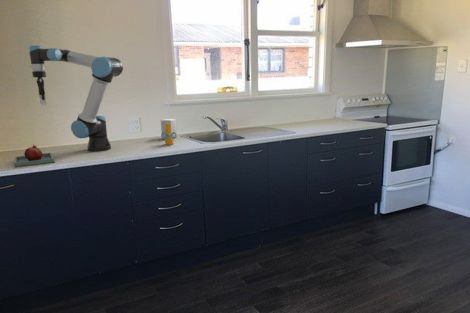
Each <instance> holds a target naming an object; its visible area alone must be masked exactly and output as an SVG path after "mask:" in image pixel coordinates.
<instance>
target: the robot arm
mask: <svg viewBox="0 0 470 313" xmlns="http://www.w3.org/2000/svg"><path fill="white" fill-rule="evenodd" d="M28 49H29V58H30V64H31V65H30V68H31V70H32V78H37V79H36V84H37V87H38V96H39V103H40V105H41V106H47V100H46V92H45V80H44V79H43V78H46V77H47V72H46V71H45V70H46V66H45V62H63V63H64V62H66V63H70V64H75V65H77V66H78V65H79V66H82V67H87V68H90V69H91V72H92V75H91V76H92V78H93V79H92V82H91V85H90V88H89V91H88V94H87V97H86V100H85V103H84V106H83V109H82V112H81V113H78V115H77V118H76V120H73V122H72V123H71V125H70V129H71V132H72V135H73V136H74V137H75V138H77V139H86V138H88V142H87V143H88V144H87V151H88V152H103V151H109V150H111V148H112V145H111V142H110V140H109V138H108V131H107V130H108V129H107V120H106V116H104V115H98V112H99V110H100V107H101V103H102V101H103V98H104V95H105V92H106V90H107V87H108V85H109V84H111V83H112V81H113V78H114V77H115V78H116V77H119V76H120V75H121V74H122V73H123V70H124V65H123V62H121V60H120V59H119V58H116V57H108V56H107V57H106V56H95V55H91V54H85V53H82V52H77V51H73V50H69V49H61V48H59V49H58V48H57V47H54V48H53V47H51V48H43V46H42V45H29V47H28Z"/></svg>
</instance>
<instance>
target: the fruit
mask: <svg viewBox="0 0 470 313" xmlns="http://www.w3.org/2000/svg"><path fill="white" fill-rule="evenodd" d="M23 154H24V155H23V156H25V157H26V158H27V159H28V160H29V161H34V160H40V159H41V158H42V155H43V154H44V153H43V151H42V150H41V149H40V148H38V147H37V145H35V144H34V143H33V144H32V146H30V147H27V148H26V149H25V151H24V153H23Z"/></svg>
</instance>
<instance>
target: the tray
mask: <svg viewBox="0 0 470 313" xmlns="http://www.w3.org/2000/svg"><path fill="white" fill-rule="evenodd" d="M42 154H43V155H42V158H41V159H40V160H34V161H29V160H28V159H27V158H26V157H25V155H18V156H14V162H13V163H14V168H23V167H30V166H37V165H46V164H53V163H55V158H54V155H53V153H52V152H46V153H42Z"/></svg>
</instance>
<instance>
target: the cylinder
mask: <svg viewBox="0 0 470 313" xmlns="http://www.w3.org/2000/svg"><path fill="white" fill-rule="evenodd" d="M165 127H166V133H165V132H163V133H162V132H161V134H160V135H161V136H160V137H161V139H162V140H164V144H165V146H173V145H174V143H175V142H174V139H177V138H178V133H177V134H176V132H172V131H171V123H166V124H165ZM163 134H165V135H166V136H165V137H163ZM172 134H175V136H174V137H173V136H172ZM176 137H177V138H176ZM173 138H174V139H173Z"/></svg>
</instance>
